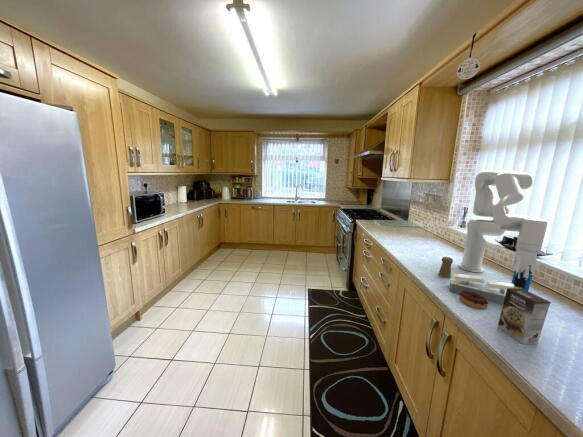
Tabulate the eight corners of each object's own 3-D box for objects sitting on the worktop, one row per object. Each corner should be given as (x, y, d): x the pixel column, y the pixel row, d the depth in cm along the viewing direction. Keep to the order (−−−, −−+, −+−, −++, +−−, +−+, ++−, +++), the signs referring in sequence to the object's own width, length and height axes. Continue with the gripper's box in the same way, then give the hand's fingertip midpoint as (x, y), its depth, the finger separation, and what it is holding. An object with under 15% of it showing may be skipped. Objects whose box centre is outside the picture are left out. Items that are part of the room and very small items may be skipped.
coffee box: (496, 326, 86) (505, 287, 82) (511, 326, 86) (521, 287, 83) (522, 344, 77) (534, 301, 73) (539, 344, 77) (551, 301, 74)
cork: (452, 278, 125) (456, 260, 123) (440, 277, 127) (444, 258, 124) (447, 274, 131) (451, 256, 129) (436, 272, 132) (439, 255, 130)
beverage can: (524, 288, 117) (529, 266, 115) (530, 294, 111) (536, 271, 109) (508, 285, 120) (513, 264, 117) (513, 291, 114) (519, 268, 112)
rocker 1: (454, 277, 115) (454, 273, 115) (482, 279, 109) (482, 276, 109) (454, 280, 112) (454, 276, 112) (483, 283, 106) (483, 279, 106)
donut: (491, 312, 95) (493, 303, 95) (463, 306, 99) (465, 298, 98) (481, 300, 105) (482, 292, 104) (456, 295, 108) (457, 287, 107)
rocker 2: (487, 283, 108) (487, 280, 108) (518, 288, 102) (519, 284, 102) (488, 287, 105) (488, 283, 105) (521, 292, 99) (521, 288, 99)
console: (449, 284, 118) (451, 274, 117) (520, 302, 104) (523, 290, 103) (450, 291, 111) (452, 280, 110) (525, 310, 97) (529, 298, 96)
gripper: (511, 241, 106) (503, 278, 109) (522, 249, 93) (512, 290, 96) (533, 244, 102) (524, 282, 105) (548, 253, 89) (537, 296, 92)
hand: (518, 286), depth 101 cm, fingers closed
